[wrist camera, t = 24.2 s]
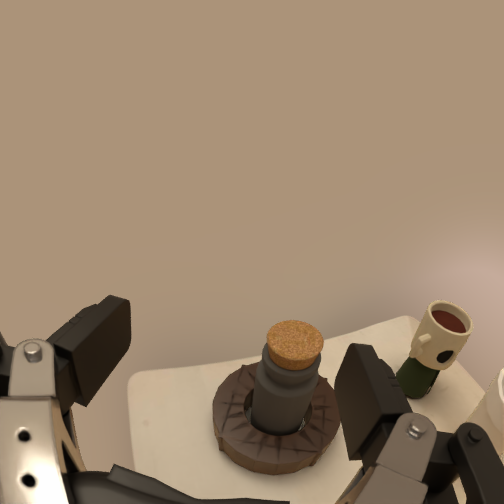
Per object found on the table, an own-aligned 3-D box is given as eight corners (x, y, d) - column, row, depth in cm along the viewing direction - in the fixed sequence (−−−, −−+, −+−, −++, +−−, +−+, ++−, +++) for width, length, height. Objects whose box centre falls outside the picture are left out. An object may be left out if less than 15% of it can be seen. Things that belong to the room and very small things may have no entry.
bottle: (259, 399, 33) (272, 309, 26) (304, 411, 31) (335, 324, 24) (242, 435, 28) (248, 352, 21) (291, 450, 26) (323, 373, 19)
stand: (198, 458, 24) (195, 446, 23) (231, 370, 37) (231, 351, 35) (327, 480, 22) (338, 469, 20) (333, 387, 34) (341, 368, 33)
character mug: (397, 414, 29) (444, 347, 23) (372, 378, 35) (407, 308, 29) (446, 387, 32) (488, 322, 26) (422, 358, 38) (456, 293, 32)
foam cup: (425, 451, 23) (485, 389, 17) (462, 415, 27) (512, 352, 21) (463, 494, 16) (536, 442, 10) (496, 452, 19) (556, 394, 13)
